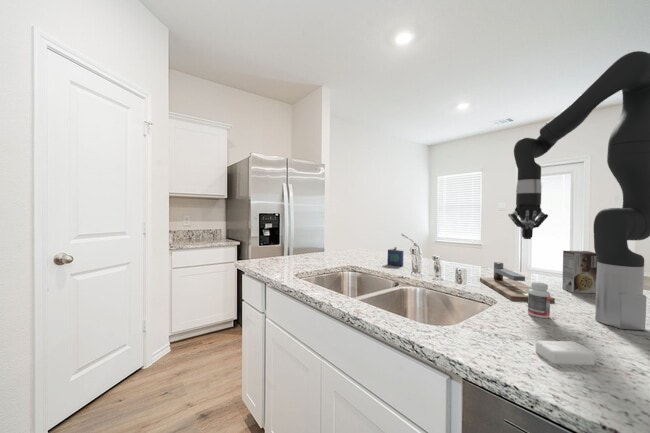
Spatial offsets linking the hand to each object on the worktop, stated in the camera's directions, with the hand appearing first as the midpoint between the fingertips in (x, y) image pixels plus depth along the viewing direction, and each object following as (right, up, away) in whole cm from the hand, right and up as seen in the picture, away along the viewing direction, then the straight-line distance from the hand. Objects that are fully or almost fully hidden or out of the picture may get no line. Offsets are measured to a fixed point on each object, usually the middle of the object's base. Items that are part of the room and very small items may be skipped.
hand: (527, 238), depth 103 cm
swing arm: (+1, -20, +13) cm, 24 cm away
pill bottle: (-10, -22, -18) cm, 30 cm away
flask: (-35, -20, +58) cm, 70 cm away
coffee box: (+28, -22, +9) cm, 37 cm away
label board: (0, -22, +9) cm, 23 cm away
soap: (-23, -23, -43) cm, 54 cm away
